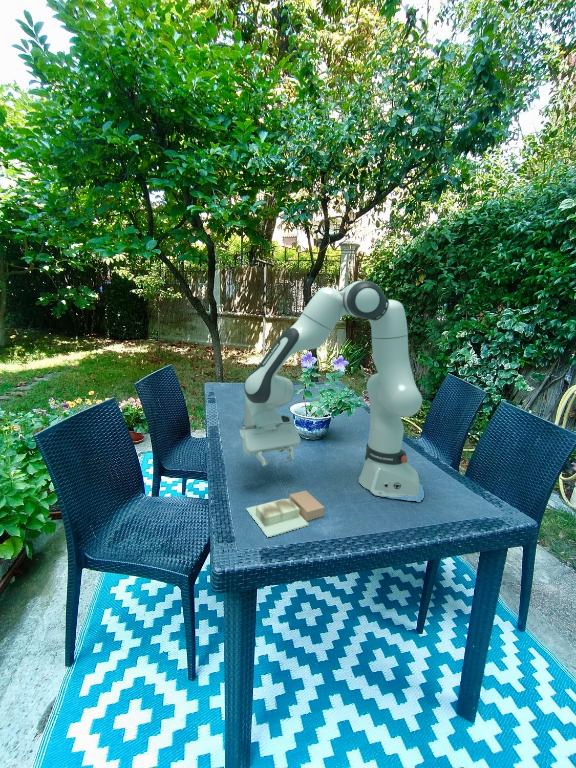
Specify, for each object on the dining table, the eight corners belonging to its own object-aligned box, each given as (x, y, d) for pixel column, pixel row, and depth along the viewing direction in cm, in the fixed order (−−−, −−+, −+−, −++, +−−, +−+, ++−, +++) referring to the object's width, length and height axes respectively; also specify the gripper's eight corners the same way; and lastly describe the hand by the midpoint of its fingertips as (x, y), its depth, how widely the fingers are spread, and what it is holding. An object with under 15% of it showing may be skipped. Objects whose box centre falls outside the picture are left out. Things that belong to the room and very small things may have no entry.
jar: (254, 431, 164) (256, 394, 160) (239, 426, 170) (240, 390, 166) (267, 426, 172) (270, 391, 168) (253, 421, 178) (254, 387, 173)
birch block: (288, 505, 107) (255, 514, 101) (289, 498, 106) (256, 506, 101) (299, 516, 102) (264, 526, 96) (299, 508, 101) (265, 518, 96)
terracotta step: (288, 503, 109) (289, 494, 108) (305, 498, 112) (305, 490, 111) (306, 521, 101) (307, 512, 100) (323, 516, 104) (324, 507, 103)
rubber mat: (245, 510, 104) (245, 508, 104) (284, 500, 110) (284, 498, 110) (267, 538, 92) (267, 536, 92) (308, 525, 99) (308, 524, 99)
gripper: (241, 423, 110) (253, 465, 105) (295, 416, 121) (308, 454, 116) (234, 431, 115) (245, 472, 109) (287, 424, 126) (299, 461, 120)
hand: (278, 462), depth 113 cm, fingers open, 8 cm apart
